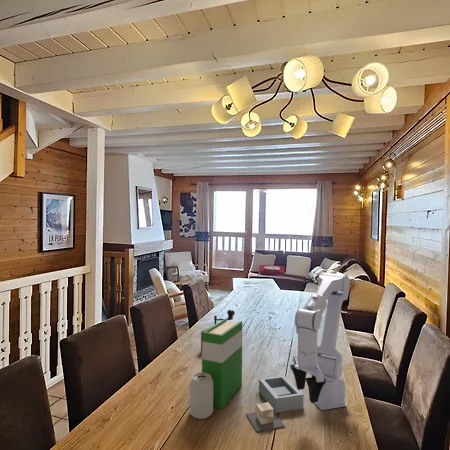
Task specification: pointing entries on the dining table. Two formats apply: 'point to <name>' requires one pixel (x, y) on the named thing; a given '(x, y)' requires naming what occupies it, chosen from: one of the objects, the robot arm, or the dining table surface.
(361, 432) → the dining table surface
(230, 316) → the coffee grinder
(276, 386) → the slot box
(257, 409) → the block
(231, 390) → the hardback book
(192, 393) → the can
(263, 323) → the dining table surface
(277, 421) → the mat
